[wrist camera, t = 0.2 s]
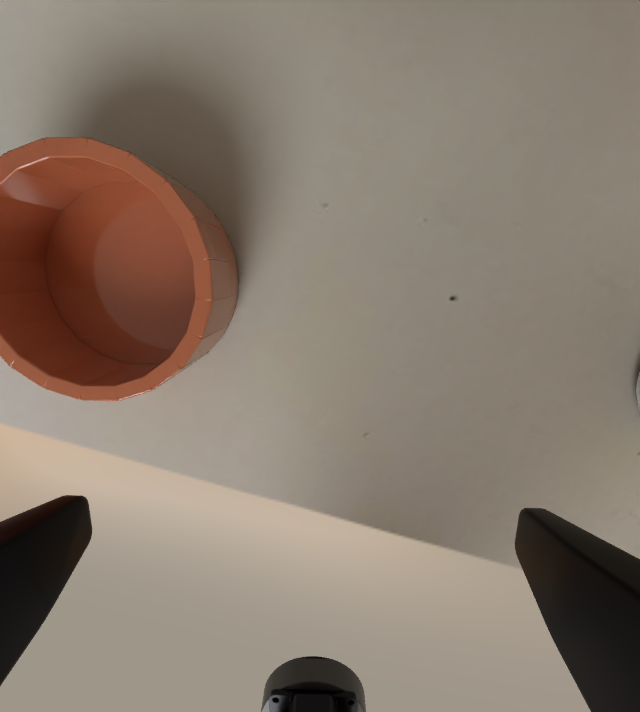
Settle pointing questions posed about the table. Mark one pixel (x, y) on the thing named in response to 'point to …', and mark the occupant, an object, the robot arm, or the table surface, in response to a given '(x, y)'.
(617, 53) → the table surface
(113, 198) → the bowl
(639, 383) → the pill bottle
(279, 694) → the robot arm
